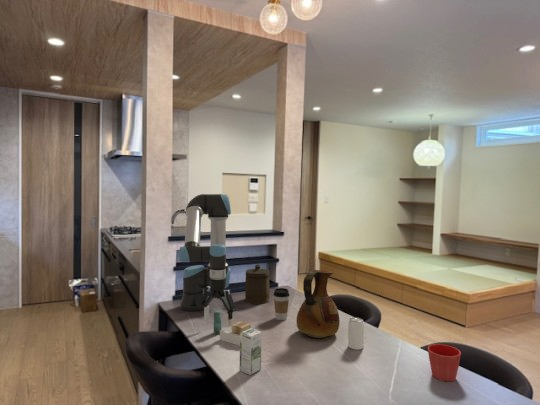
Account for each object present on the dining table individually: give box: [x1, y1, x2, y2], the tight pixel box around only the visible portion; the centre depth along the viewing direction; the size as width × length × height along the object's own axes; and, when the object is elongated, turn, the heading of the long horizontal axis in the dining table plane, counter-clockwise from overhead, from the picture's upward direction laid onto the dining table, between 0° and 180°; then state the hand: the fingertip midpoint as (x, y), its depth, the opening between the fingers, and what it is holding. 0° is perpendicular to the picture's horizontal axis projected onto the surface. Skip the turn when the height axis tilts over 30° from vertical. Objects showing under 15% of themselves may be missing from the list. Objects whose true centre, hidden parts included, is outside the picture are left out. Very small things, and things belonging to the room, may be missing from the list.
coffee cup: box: [273, 287, 290, 321], centre depth 190 cm, size 8×8×15 cm
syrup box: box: [239, 327, 263, 376], centre depth 134 cm, size 6×6×14 cm
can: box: [347, 316, 365, 351], centre depth 155 cm, size 6×6×12 cm
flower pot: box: [427, 343, 462, 382], centre depth 131 cm, size 11×11×10 cm
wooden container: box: [244, 264, 271, 305], centre depth 222 cm, size 15×15×22 cm
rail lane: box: [219, 327, 260, 347], centre depth 162 cm, size 14×10×4 cm
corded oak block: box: [213, 310, 252, 336], centre depth 165 cm, size 19×6×10 cm, turn 56°
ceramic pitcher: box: [296, 269, 340, 339], centre depth 169 cm, size 20×20×30 cm
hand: (217, 323), depth 169 cm, fingers open, 13 cm apart
